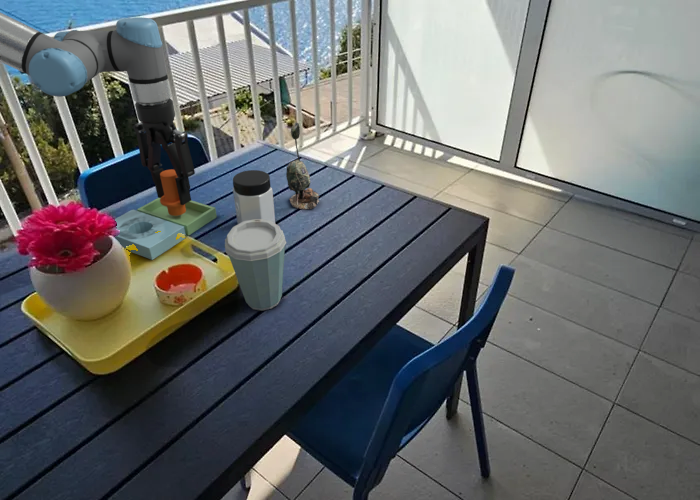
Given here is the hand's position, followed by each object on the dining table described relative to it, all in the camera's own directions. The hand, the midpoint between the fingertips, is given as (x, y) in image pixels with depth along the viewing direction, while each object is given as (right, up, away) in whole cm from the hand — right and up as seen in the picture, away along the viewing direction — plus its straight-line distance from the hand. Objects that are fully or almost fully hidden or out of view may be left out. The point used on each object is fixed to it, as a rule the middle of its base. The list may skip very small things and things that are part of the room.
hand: (174, 198), depth 116 cm
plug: (0, -3, +2) cm, 3 cm away
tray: (0, -4, +3) cm, 5 cm away
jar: (+19, -6, +1) cm, 20 cm away
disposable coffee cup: (+24, -22, -22) cm, 39 cm away
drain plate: (-5, -10, -5) cm, 12 cm away
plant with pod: (+29, 0, +10) cm, 31 cm away
